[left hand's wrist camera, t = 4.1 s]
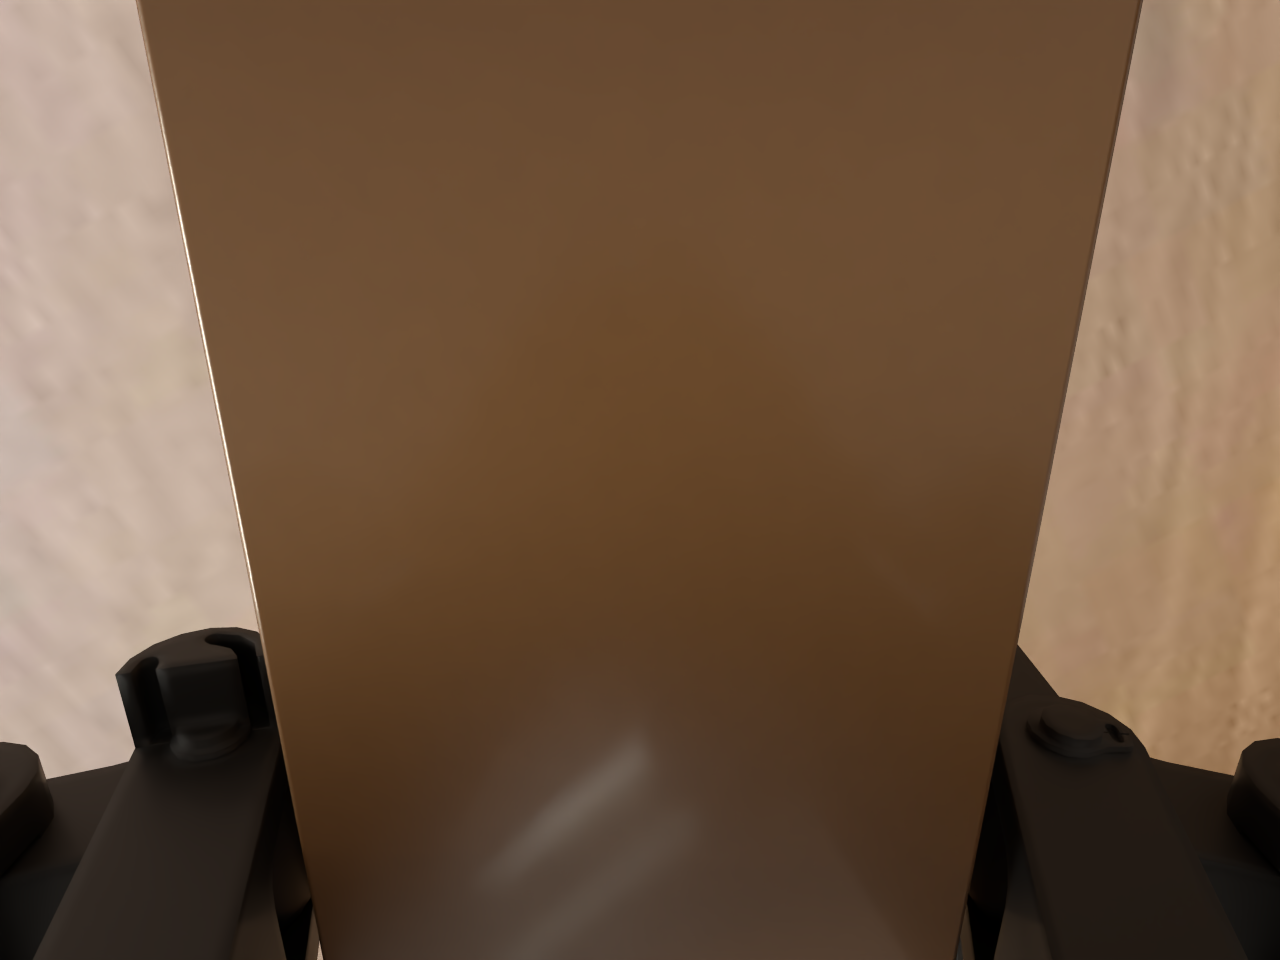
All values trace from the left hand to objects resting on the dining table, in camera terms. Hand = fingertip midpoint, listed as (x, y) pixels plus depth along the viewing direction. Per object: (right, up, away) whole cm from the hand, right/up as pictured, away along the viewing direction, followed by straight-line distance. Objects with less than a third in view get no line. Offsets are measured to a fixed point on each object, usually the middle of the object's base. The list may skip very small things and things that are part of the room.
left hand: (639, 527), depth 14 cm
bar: (0, +9, -3) cm, 9 cm away
